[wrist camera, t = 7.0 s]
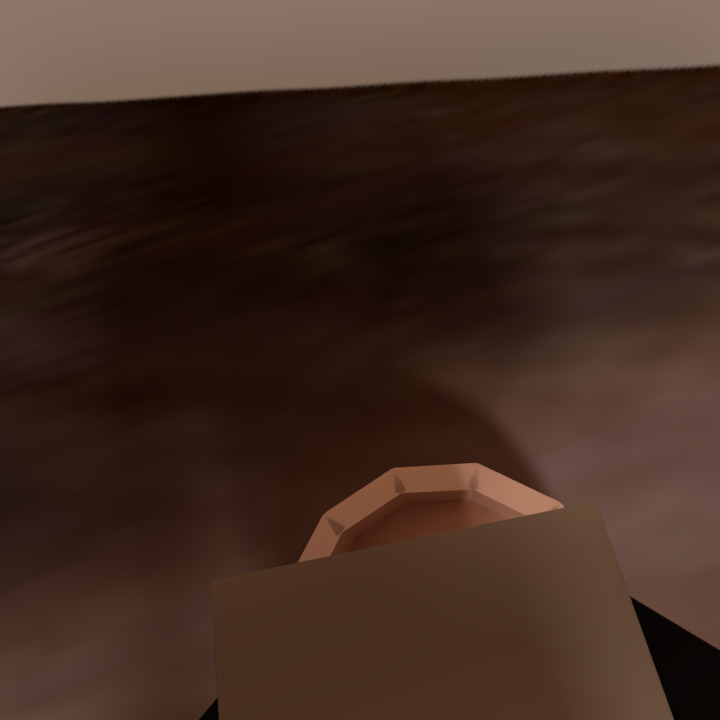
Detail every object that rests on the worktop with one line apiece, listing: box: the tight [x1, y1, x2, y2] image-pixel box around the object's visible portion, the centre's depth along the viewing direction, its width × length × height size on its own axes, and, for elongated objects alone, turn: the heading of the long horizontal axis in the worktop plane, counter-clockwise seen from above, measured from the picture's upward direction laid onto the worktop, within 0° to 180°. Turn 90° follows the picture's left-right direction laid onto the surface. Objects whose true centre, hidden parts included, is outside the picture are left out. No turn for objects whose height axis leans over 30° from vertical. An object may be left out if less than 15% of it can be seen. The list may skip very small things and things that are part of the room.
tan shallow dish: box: [298, 463, 564, 562], centre depth 16 cm, size 10×10×3 cm
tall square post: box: [211, 501, 674, 720], centre depth 10 cm, size 4×4×12 cm
